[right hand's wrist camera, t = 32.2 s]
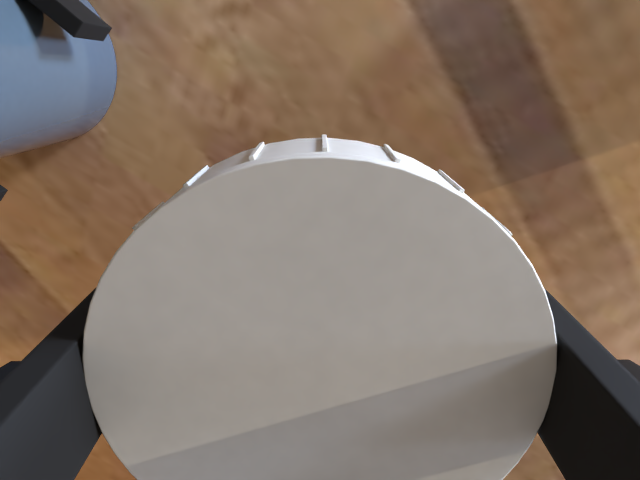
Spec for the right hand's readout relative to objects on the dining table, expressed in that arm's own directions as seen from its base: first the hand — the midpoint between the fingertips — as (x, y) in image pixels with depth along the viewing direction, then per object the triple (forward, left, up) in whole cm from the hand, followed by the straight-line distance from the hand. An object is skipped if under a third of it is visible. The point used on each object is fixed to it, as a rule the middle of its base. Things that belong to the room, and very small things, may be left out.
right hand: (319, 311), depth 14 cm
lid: (0, 0, +3) cm, 3 cm away
